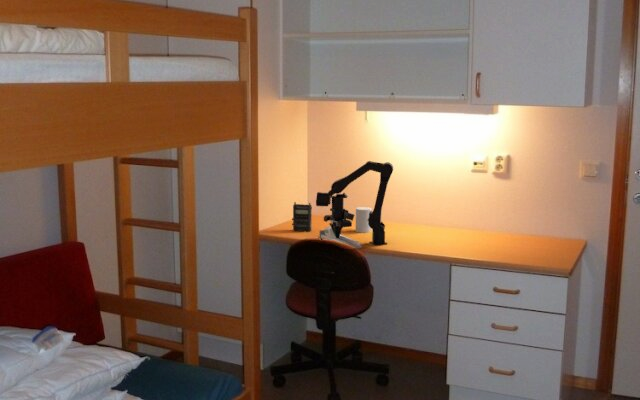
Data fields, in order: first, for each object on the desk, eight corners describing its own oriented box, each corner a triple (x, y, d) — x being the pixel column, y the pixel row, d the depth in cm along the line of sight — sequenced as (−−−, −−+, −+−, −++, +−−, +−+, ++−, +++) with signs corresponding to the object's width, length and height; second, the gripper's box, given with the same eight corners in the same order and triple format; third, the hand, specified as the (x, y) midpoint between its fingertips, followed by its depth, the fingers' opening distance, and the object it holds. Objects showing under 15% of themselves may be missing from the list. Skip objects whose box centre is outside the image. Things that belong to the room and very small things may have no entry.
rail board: (362, 247, 338) (362, 239, 338) (343, 249, 334) (343, 241, 333) (335, 236, 361) (336, 228, 360) (318, 238, 357) (318, 230, 356)
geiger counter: (290, 231, 373) (290, 202, 371) (293, 229, 378) (293, 201, 375) (310, 232, 371) (310, 203, 369) (312, 230, 375) (312, 202, 373)
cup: (371, 229, 379) (371, 207, 377) (370, 232, 371) (371, 210, 369) (355, 229, 380) (356, 206, 378) (355, 232, 372) (355, 209, 370)
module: (338, 238, 354) (338, 228, 353) (329, 239, 351) (329, 229, 351) (333, 236, 358) (333, 226, 357) (324, 237, 356) (324, 227, 355)
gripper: (361, 208, 342) (361, 240, 345) (343, 202, 359) (342, 233, 361) (341, 210, 337) (340, 242, 340) (323, 204, 354) (323, 235, 356)
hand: (337, 238), depth 349 cm, fingers closed
